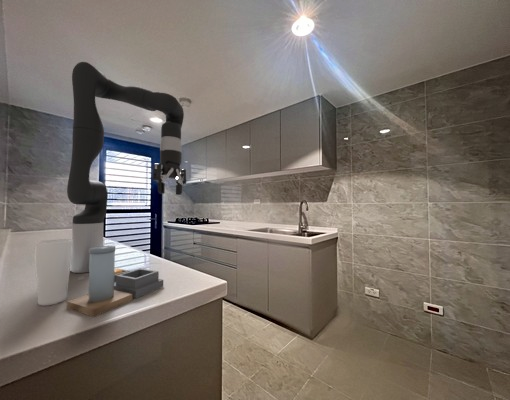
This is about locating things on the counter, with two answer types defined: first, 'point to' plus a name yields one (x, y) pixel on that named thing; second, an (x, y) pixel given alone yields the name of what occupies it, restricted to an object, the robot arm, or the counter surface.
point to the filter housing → (137, 282)
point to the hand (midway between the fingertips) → (170, 194)
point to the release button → (117, 271)
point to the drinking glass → (52, 270)
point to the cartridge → (101, 273)
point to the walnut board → (98, 303)
